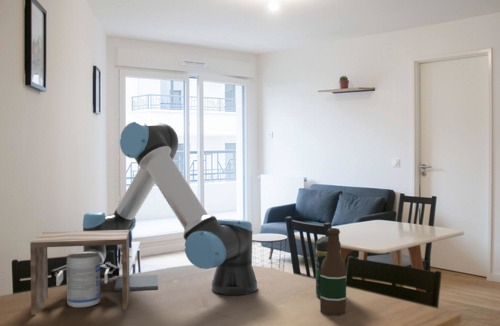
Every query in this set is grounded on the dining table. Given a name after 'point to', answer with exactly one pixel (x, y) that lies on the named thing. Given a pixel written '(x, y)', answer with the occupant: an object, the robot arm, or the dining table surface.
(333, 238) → the beer bottle
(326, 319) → the dining table surface
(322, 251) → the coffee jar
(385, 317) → the dining table surface
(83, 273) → the supplement tub
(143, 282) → the mat
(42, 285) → the shelf
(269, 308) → the dining table surface
